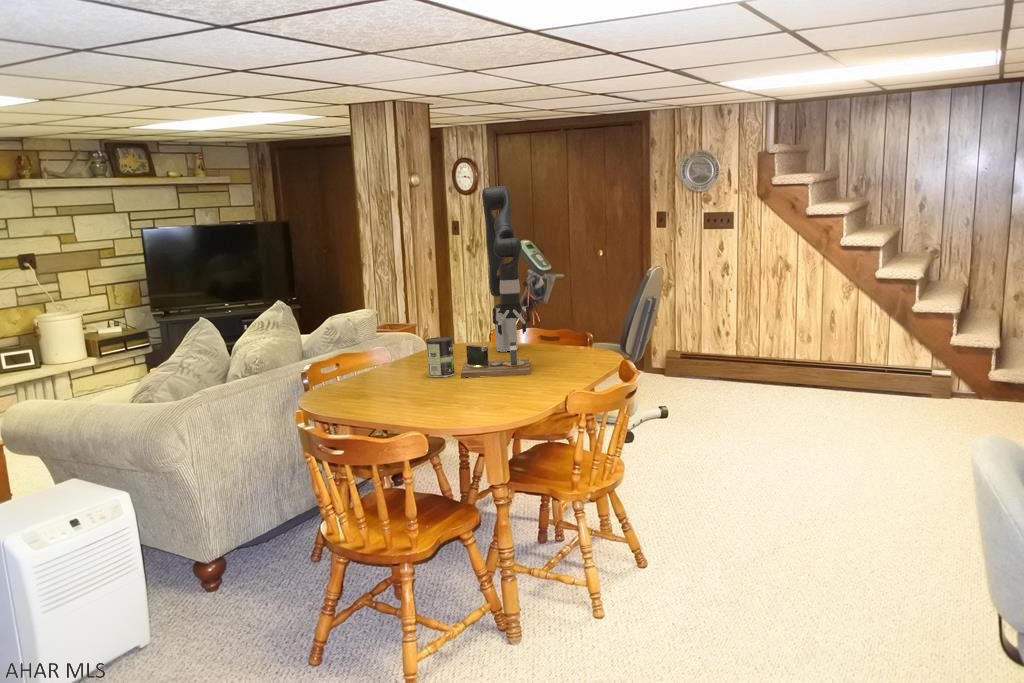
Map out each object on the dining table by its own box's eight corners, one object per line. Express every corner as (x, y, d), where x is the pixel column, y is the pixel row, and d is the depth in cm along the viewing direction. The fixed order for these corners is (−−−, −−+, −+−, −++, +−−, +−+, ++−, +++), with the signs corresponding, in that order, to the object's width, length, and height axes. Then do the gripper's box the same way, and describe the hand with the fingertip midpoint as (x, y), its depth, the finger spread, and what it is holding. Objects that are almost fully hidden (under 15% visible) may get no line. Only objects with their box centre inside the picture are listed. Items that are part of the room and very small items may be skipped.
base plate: (464, 366, 326) (464, 359, 325) (529, 363, 325) (528, 355, 325) (461, 378, 304) (460, 370, 303) (530, 374, 304) (530, 366, 303)
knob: (503, 362, 319) (502, 342, 317) (524, 361, 319) (523, 341, 317) (503, 367, 310) (502, 346, 308) (524, 366, 310) (523, 345, 308)
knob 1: (462, 367, 314) (461, 346, 313) (476, 363, 320) (475, 343, 319) (479, 369, 308) (478, 348, 307) (493, 365, 314) (492, 345, 313)
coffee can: (455, 371, 317) (453, 336, 315) (454, 377, 307) (451, 340, 305) (429, 373, 317) (426, 337, 315) (426, 378, 307) (424, 342, 305)
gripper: (528, 289, 310) (530, 331, 313) (491, 291, 310) (493, 333, 313) (528, 291, 303) (531, 334, 305) (490, 293, 303) (493, 336, 306)
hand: (512, 334), depth 309 cm, fingers open, 8 cm apart
